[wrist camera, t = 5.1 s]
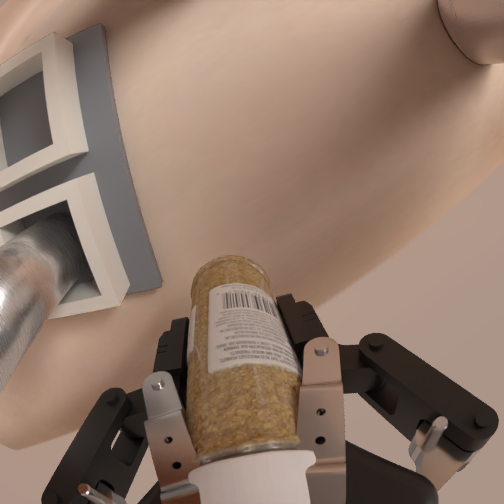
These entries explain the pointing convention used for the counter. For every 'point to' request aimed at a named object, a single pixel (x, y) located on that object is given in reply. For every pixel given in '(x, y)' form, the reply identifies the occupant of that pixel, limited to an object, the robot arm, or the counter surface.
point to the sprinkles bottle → (243, 390)
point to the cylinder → (35, 283)
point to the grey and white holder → (73, 165)
